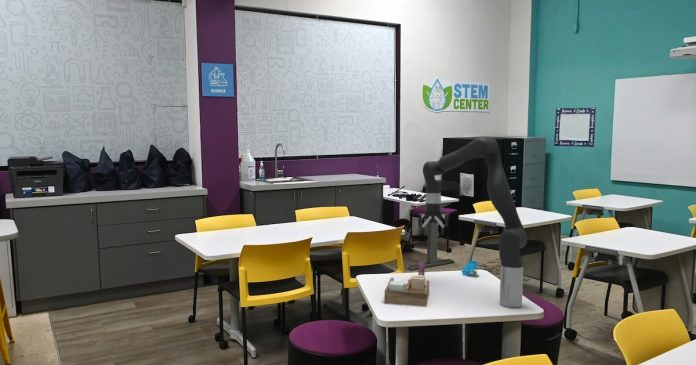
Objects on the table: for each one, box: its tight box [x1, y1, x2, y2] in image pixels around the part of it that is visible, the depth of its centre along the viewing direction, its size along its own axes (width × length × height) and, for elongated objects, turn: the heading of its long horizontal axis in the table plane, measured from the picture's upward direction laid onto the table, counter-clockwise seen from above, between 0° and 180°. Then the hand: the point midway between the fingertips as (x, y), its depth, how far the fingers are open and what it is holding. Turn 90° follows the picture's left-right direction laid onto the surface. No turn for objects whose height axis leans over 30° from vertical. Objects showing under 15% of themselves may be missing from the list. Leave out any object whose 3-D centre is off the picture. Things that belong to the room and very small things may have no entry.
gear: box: [461, 259, 480, 277], centre depth 284 cm, size 11×6×10 cm
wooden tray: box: [383, 277, 430, 307], centre depth 243 cm, size 22×18×6 cm
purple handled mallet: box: [410, 260, 426, 290], centre depth 257 cm, size 27×6×9 cm, turn 168°
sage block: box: [389, 280, 406, 291], centre depth 237 cm, size 6×6×5 cm
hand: (433, 234), depth 265 cm, fingers open, 8 cm apart
